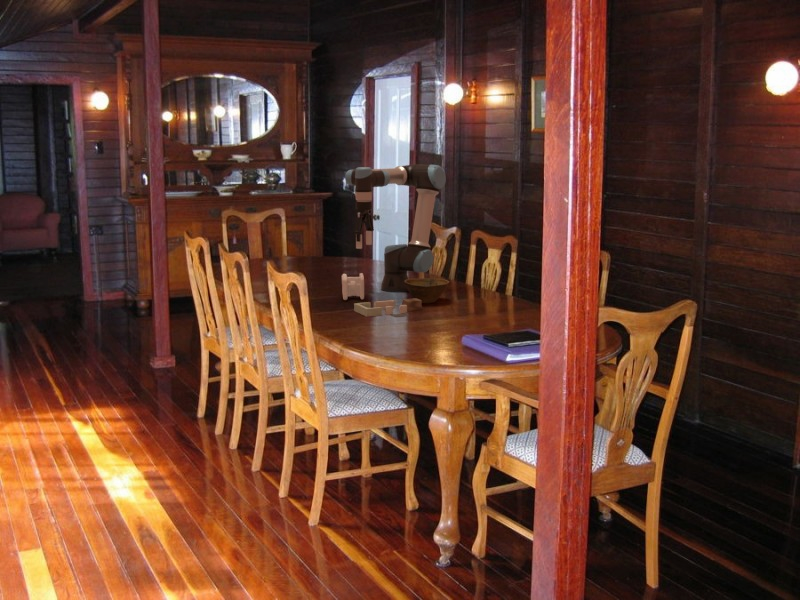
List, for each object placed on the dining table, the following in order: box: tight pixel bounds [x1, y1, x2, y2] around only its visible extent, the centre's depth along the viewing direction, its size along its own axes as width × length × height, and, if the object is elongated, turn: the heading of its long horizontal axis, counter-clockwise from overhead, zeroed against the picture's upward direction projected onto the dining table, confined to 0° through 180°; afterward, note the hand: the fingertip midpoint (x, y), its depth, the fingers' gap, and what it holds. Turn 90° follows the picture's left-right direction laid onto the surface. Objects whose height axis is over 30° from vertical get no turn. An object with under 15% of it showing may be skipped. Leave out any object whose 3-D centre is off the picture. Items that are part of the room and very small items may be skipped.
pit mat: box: [390, 313, 411, 318], centre depth 410 cm, size 7×6×1 cm
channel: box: [373, 299, 408, 316], centre depth 419 cm, size 10×14×4 cm
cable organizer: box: [341, 272, 365, 301], centre depth 448 cm, size 15×11×12 cm
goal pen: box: [353, 301, 383, 318], centre depth 414 cm, size 8×14×4 cm, turn 26°
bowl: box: [404, 277, 450, 304], centre depth 441 cm, size 22×23×10 cm
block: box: [401, 297, 423, 312], centre depth 423 cm, size 7×6×4 cm
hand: (364, 246), depth 430 cm, fingers open, 13 cm apart
